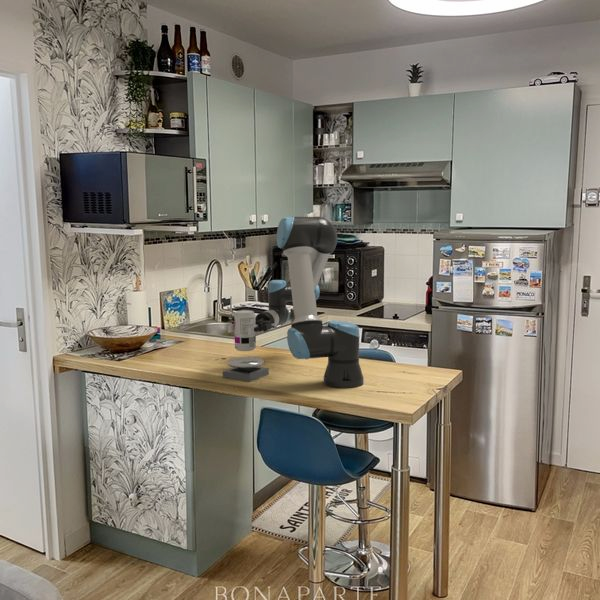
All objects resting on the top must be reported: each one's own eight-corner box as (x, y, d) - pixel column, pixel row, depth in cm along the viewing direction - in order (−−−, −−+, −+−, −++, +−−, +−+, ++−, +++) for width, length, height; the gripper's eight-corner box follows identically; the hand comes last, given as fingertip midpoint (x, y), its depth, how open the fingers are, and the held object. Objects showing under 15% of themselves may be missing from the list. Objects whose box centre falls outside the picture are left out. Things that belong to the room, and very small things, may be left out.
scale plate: (270, 368, 254) (270, 359, 254) (250, 376, 242) (250, 366, 242) (241, 364, 261) (241, 355, 261) (220, 372, 249) (220, 362, 249)
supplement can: (231, 350, 249) (230, 312, 246) (240, 346, 256) (240, 309, 254) (250, 352, 246) (249, 314, 243) (259, 347, 253) (258, 310, 251)
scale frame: (268, 374, 254) (268, 367, 254) (250, 381, 243) (250, 375, 243) (242, 370, 261) (241, 364, 261) (222, 377, 250) (222, 371, 249)
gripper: (289, 331, 262) (262, 342, 242) (244, 327, 271) (215, 337, 250) (289, 313, 261) (262, 322, 240) (244, 309, 270) (215, 318, 249)
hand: (238, 330), depth 245 cm, fingers closed on supplement can, 8 cm apart
